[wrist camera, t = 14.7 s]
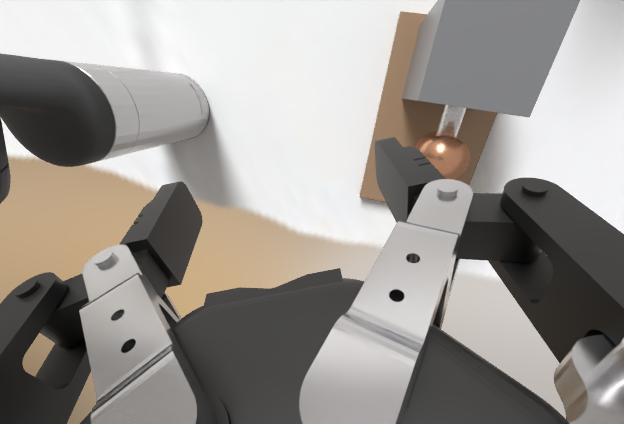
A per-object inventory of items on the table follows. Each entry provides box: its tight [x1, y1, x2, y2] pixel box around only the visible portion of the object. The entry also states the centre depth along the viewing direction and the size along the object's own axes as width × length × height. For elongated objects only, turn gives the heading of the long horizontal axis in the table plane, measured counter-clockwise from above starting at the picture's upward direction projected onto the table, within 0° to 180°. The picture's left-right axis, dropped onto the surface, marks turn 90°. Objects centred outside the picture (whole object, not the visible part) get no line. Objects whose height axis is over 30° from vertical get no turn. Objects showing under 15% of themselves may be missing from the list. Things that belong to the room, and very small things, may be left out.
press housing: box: [360, 0, 580, 202], centre depth 31 cm, size 23×14×14 cm, turn 170°
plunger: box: [415, 105, 470, 180], centre depth 28 cm, size 14×4×5 cm, turn 170°
